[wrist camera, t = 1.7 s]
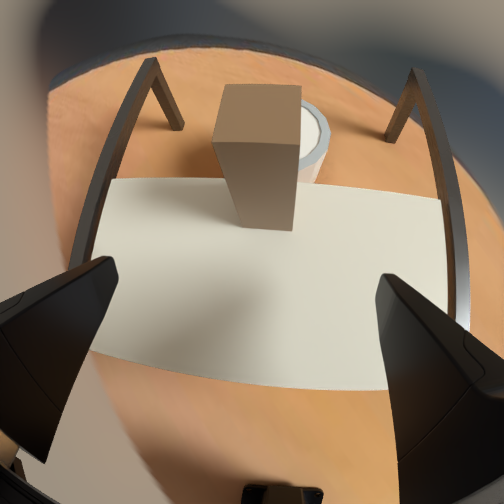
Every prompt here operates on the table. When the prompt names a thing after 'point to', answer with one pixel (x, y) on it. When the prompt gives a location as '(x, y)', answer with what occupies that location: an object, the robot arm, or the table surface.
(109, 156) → the cover frame
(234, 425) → the table surface
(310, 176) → the white cup
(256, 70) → the table surface
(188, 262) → the sliding cover
